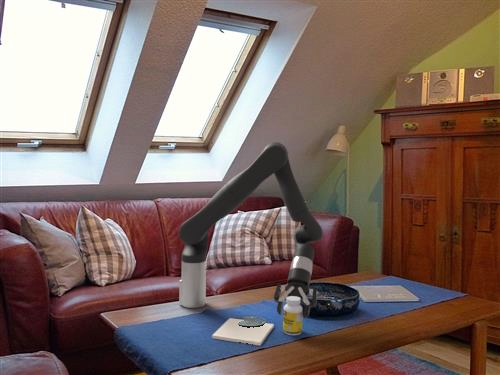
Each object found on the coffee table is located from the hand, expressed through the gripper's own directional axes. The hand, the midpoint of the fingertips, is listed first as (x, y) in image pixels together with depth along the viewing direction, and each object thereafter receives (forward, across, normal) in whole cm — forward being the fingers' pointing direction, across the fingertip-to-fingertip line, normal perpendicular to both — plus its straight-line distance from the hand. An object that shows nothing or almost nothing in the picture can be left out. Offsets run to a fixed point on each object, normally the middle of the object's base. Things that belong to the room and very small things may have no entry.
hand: (292, 315), depth 160 cm
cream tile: (+8, -15, +1) cm, 17 cm away
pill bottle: (+4, 0, +6) cm, 7 cm away
